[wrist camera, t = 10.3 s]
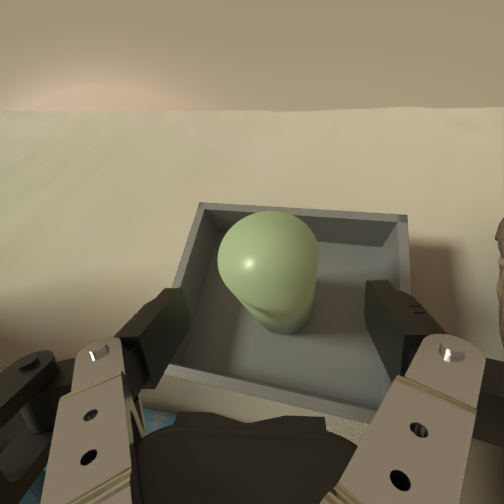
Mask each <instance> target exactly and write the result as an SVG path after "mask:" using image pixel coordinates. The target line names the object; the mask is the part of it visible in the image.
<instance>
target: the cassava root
mask: <svg viewBox="0 0 504 504" xmlns="http://www.w3.org/2000/svg"><path fill="white" fill-rule="evenodd" d="M495 240H497V241H498V247H499V251H500V254H501V257H500V259H499V267H500V277H499V281H498V285H497V295H498V299H499V328H500V335H501V339H502V343H503V347H504V218H503V219H502V221H501V222H500V224H499V226H498V229H497V233H496V236H495ZM503 475H504V470H503Z"/></svg>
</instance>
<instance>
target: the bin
mask: <svg viewBox="0 0 504 504" xmlns="http://www.w3.org/2000/svg"><path fill="white" fill-rule="evenodd" d="M262 211H280V212H285V213H288V214H291V215H293V216H295V217H297V218H299V219H300V220H301V221H303V222H304V223H305V224H306V225H307V226H308V227H309V228H310V229H311V231H312V232H313V234H314V236H315V238H316V241H317V244H318V249H319V261H318V270H317V279H316V287H315V296H314V304H313V312H312V315H311V318H310V320H309V322H308V323H307V324H306V325H305V327H303V328H302V329H301V330H299V331H298V332H296V333H293V334H289V335H279V334H275V333H272V332H270V331H268V330H267V329H266V328H264V327H263V326H262V325H261V324H260V323H259V321H258V320H257V319H256V318H255V317H254V316H253V315H252V314H251V313H250V312H249V310H248V309H247V308H246V307H245V306H244V305H243V304H242V303H241V302H240V301H239V299H238V298H237V297H236V296H235V295H234V294H233V293H232V292H231V291H230V290H229V288H228V287H227V286H226V285H225V283H224V282H223V280H222V278H221V275H220V273H219V269H218V251H219V247H220V244H221V242H222V240H223V238H224V236H225V235H226V233H227V232H228V231H229V229H230V228H231V227H232V226H233V225H234V224H236V223H237V222H238V221H240V220H241V219H243V218H245V217H247V216H249V215H251V214H254V213H257V212H262ZM367 280H388V281H389V282H390V284H391V285H392V286H393V287H394V289H395V290H396V291H404V292H405V293H407V294H409V295H411V296H412V294H411V275H410V256H409V236H408V217H407V215H400V214H384V213H367V212H351V211H334V210H318V209H301V208H285V207H268V206H252V205H235V204H219V203H202V202H199V206H198V209H197V212H196V215H195V218H194V221H193V224H192V227H191V230H190V233H189V236H188V239H187V242H186V245H185V248H184V251H183V255H182V258H181V261H180V264H179V267H178V270H177V273H176V276H175V279H174V282H173V285H172V288H182V289H183V290H184V293H185V297H186V301H187V306H188V310H189V315H190V327H189V330H188V332H187V334H186V335H185V337H184V339H183V341H182V342H181V344H180V346H179V348H178V349H177V351H176V353H175V355H174V356H173V358H172V360H171V362H170V363H169V365H168V367H167V369H166V370H165V372H164V374H165V375H169V376H174V377H178V378H182V379H186V380H190V381H194V382H198V383H202V384H207V385H211V386H215V387H219V388H223V389H227V390H231V391H236V392H240V393H244V394H248V395H252V396H256V397H260V398H264V399H269V400H273V401H277V402H281V403H285V404H289V405H293V406H297V407H302V408H306V409H310V410H314V411H318V412H322V413H326V414H331V415H335V416H339V417H343V418H347V419H351V420H355V421H359V422H364V423H368V424H370V423H371V422H372V420H373V418H374V416H375V414H376V412H377V411H378V409H379V407H380V405H381V403H382V401H383V400H384V398H385V396H386V394H387V392H388V390H389V389H390V387H391V385H392V382H391V380H390V378H389V376H388V373H387V371H386V369H385V367H384V365H383V363H382V360H381V358H380V356H379V354H378V352H377V350H376V347H375V345H374V343H373V341H372V339H371V337H370V334H369V332H368V330H367V328H366V324H365V318H364V306H365V284H366V281H367Z"/></svg>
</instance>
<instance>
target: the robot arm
mask: <svg viewBox="0 0 504 504" xmlns="http://www.w3.org/2000/svg"><path fill="white" fill-rule="evenodd" d="M364 318H365V324H366V328H367V330H368V332H369V334H370V337H371V339H372V341H373V343H374V345H375V347H376V350H377V352H378V354H379V356H380V358H381V360H382V363H383V365H384V367H385V369H386V371H387V373H388V376H389V378H390V380H391V382H392V385H391V387H390V389H389V390H388V392H387V394H386V396H385V398H384V400H383V401H382V403H381V405H380V407H379V409H378V411H377V412H376V414H375V416H374V418H373V420H372V422H371V423H370V425H369V427H368V429H367V431H366V433H365V434H364V436H363V438H362V440H361V442H360V444H359V446H357V445H356V444H354V443H353V442H351V441H349V440H347V439H346V438H344V437H341V436H339V435H337V434H335V433H332V432H328V431H326V424H325V417H310V416H282V417H277V418H272V419H267V420H262V421H258V422H253V423H243V422H240V421H236V420H233V419H230V418H227V417H224V416H221V415H218V414H215V413H209V412H183V411H178V414H177V416H176V418H175V421H174V423H173V425H169V426H166V427H163V428H160V429H158V430H156V431H153V432H151V433H149V434H148V435H147V432H146V427H145V421H144V416H143V410H142V405H141V400H140V397H139V392H140V391H141V389H155V388H156V386H157V384H158V383H159V381H160V379H161V377H162V376H163V374H164V372H165V370H166V369H167V367H168V365H169V363H170V362H171V360H172V358H173V356H174V355H175V353H176V351H177V349H178V348H179V346H180V344H181V342H182V341H183V339H184V337H185V335H186V334H187V332H188V330H189V327H190V315H189V310H188V306H187V301H186V297H185V293H184V290H183V289H182V288H165V289H164V290H163V291H162V292H161V293H160V294H159V295H158V296H157V297H156V298H155V299H153V300H152V301H150V302H148V303H147V304H145V305H144V306H143V307H142V308H141V309H140V310H139V311H138V312H137V314H135V315H134V316H133V317H132V319H130V320H129V321H128V322H127V323H126V324H125V325H124V327H123V328H122V329H121V330H120V331H119V332H118V333H117V334H116V335H115V336H114V337H107V338H102V339H99V340H97V341H94V342H92V343H90V344H89V345H87V346H86V347H84V348H83V349H82V350H81V351H80V352H79V353H78V354H77V356H76V358H73V359H68V360H64V361H59V362H57V360H56V358H55V356H54V354H53V352H51V351H39V352H35V353H32V354H30V355H27V356H25V357H23V358H21V359H19V360H17V361H16V362H14V363H13V364H11V365H10V366H9V367H7V368H6V369H5V370H4V371H2V372H1V373H0V429H1V428H2V427H3V426H4V425H5V424H6V423H7V422H8V421H9V420H10V419H11V418H12V417H13V416H14V415H15V414H16V413H17V412H18V411H20V412H21V414H22V416H23V418H24V420H25V421H26V423H27V425H26V426H25V427H24V429H23V430H22V431H21V432H20V433H19V434H18V435H17V436H16V437H15V438H14V439H13V441H12V442H11V443H10V444H9V445H8V446H7V447H6V448H5V449H4V450H3V451H2V453H1V454H0V504H18V503H19V502H20V501H21V499H22V498H23V497H24V495H25V494H26V492H27V491H28V490H29V488H30V487H31V486H32V484H33V483H34V482H35V480H36V479H37V477H38V476H39V475H40V473H41V472H42V471H43V469H44V468H45V467H46V465H47V469H46V475H45V480H44V486H43V491H42V497H41V502H40V504H459V500H460V495H461V490H462V485H463V480H464V475H465V469H466V464H467V459H468V454H469V449H470V444H471V438H475V439H478V440H482V441H485V442H488V443H491V444H494V445H498V446H501V447H504V362H503V361H498V360H493V359H488V358H485V355H484V354H483V352H482V351H481V350H480V349H479V348H478V347H477V346H475V345H474V344H472V343H470V342H468V341H466V340H464V339H462V338H459V337H456V336H452V335H448V334H447V333H446V332H445V331H444V330H443V329H442V328H441V327H440V325H439V324H438V323H437V322H436V321H435V320H434V319H433V318H432V317H431V315H430V314H428V313H427V311H426V310H425V309H424V308H423V307H421V304H420V303H419V302H418V301H417V300H416V299H415V298H414V297H413V296H411V295H409V294H407V293H405V292H404V291H396V290H395V289H394V287H393V286H392V285H391V284H390V282H389V281H388V280H367V281H366V284H365V306H364Z"/></svg>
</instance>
